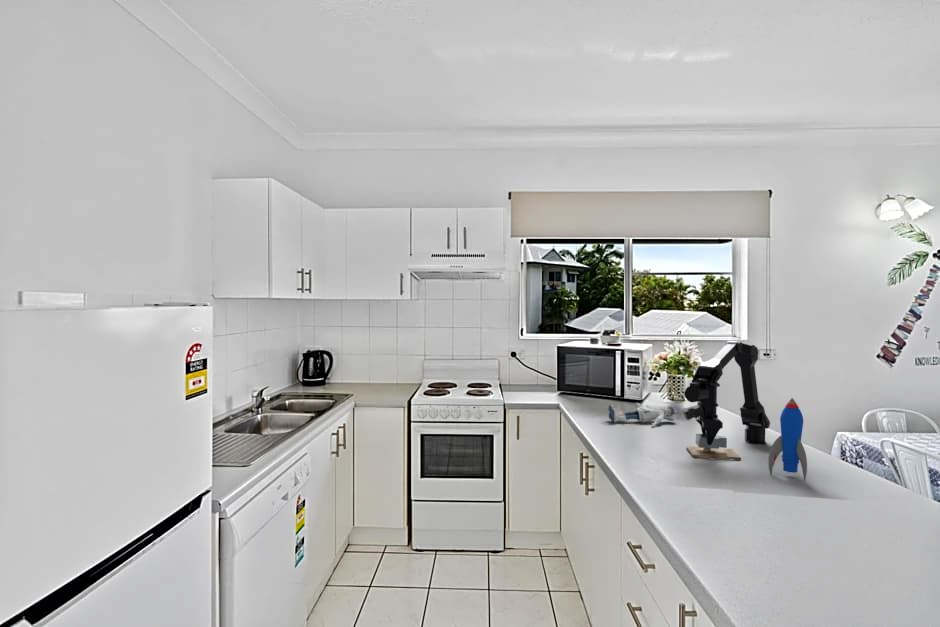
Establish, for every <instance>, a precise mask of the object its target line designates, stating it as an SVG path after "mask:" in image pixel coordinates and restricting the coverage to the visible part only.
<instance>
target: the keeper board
mask: <svg viewBox="0 0 940 627" xmlns="http://www.w3.org/2000/svg"><path fill="white" fill-rule="evenodd" d="M685 450H687V452H688V451H689V452H688V453H689V455H690V454H691V455H690V457H692V458H693V457H697V458H696V459H708V458H716V459H715V460H726V459H734V460H733V461H741V460H742V457H741V456H740V455H739V454H738V453H737V452H736V451H735V450H734V449H733V448H721V447H719V449H717V448H699V447H698V446H687V445H686V449H685ZM718 458H719V459H718Z"/></svg>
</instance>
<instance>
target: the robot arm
mask: <svg viewBox="0 0 940 627" xmlns="http://www.w3.org/2000/svg"><path fill="white" fill-rule="evenodd" d="M718 351H719V352H717V354H715V356H713V358H711V359H709V360H706V361H704V362H702V363H701V364H699V366H697V369H696V371H695V373H694V375H693V377H692V379H691V382H689V386H687V387H686V388H685V391H684V397H685V399H686V400H687V402H689V403H696V402H697V404H696V405H694V406H690V407H687V408H683V409H682V413H683V416H684V418H685V420H687V421H689V420H691V419H695V421H696V422H697V424H699V426H700V430H701V434H706V437H707V444H708V445H711V444H712V442H713V440H714V438H715V437H716V436H718V433H719V432H720V430H721V429H723V425H724V423H723V421H722V420H721V419H720V418H719V417H718V416H719V415H718V414H717V409H718V407H719V403H717V402H718V401H717V400H718V397H717V396H718V387H721V384H720V383H719V382H718V381H720V379H721V377H722V376H723V369H724V368H725V367H726V366H727V365H728V364H729V363H730V362H731V361H732V359H733V358H734V361H735V363H736V364H737V365H738V366H739V367H740V375H741V382H742V383H741V384H742V390H743V399H744V402H743V405H742V406H741V407H740V408H739V410H740V418H741V424H742V425H743V426H746V427H745V428H744V440H745V441H748V442H747V443H749V444H762V443H767V441H766V429H769V428H770V426H771V421H770V419H769V417H768V416H767V414H766V410H765V407H764V406H763V404H762V403H761V402H760V400H759V393H758V385H757V377H756V368H755V365H756V363H757V362H758V360H759V349H758V347H757V346H756V345H754V344H746V343H743V342H741V341H737V340H736V341H735V340H728V341H726V342H725V345H724V346H723V347H722V348H721V350H718Z"/></svg>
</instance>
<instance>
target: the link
mask: <svg viewBox="0 0 940 627" xmlns="http://www.w3.org/2000/svg"><path fill="white" fill-rule="evenodd" d="M727 439H728V438H727V436H725V435H716V437H715V438H714V440H713V442H712V444H711V445H708V444H707V437H706V434H702V433H695V444H696V445H697V447H699V448H717V449H719V448H726V449H728V448H727V445H728V444H727V443H728V440H727Z"/></svg>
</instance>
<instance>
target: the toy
mask: <svg viewBox="0 0 940 627" xmlns="http://www.w3.org/2000/svg"><path fill="white" fill-rule="evenodd" d="M635 405H636V406H637V408H636V410H635V411H628V412H624V411H623V410H622V409H621V410H618V411H617V409H616V408H614V405H613V404H609V405H608V412H609V413H608V419H609V420H610V423H612V424H614V423H617V422H624V423H628V420H637V421H638V422H640V423H649V422H651V421H654V422H651V423H650V424H651V425H650V427H651V428H653V427H655V426H656V425H658V424H660V423H661V422H662V421H663V420H667V421H670V422H672V421H675V420H676V418H677V415H678V413H677V410H676V408H674V407H672V406H669V407H668V408H666V407H661V408H657V407H654V406H652V405H648V404H641V403H639V402H636V403H635Z"/></svg>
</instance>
